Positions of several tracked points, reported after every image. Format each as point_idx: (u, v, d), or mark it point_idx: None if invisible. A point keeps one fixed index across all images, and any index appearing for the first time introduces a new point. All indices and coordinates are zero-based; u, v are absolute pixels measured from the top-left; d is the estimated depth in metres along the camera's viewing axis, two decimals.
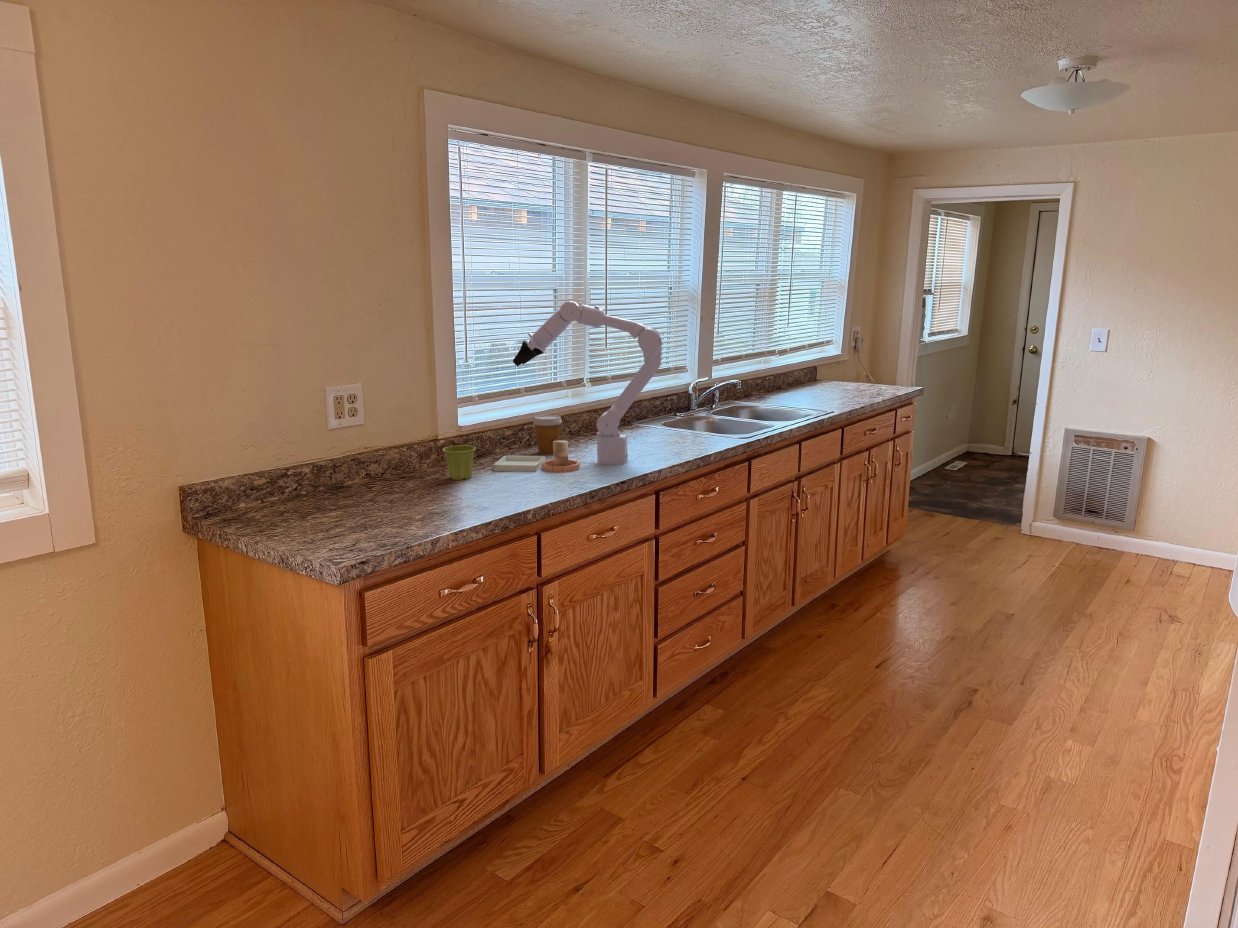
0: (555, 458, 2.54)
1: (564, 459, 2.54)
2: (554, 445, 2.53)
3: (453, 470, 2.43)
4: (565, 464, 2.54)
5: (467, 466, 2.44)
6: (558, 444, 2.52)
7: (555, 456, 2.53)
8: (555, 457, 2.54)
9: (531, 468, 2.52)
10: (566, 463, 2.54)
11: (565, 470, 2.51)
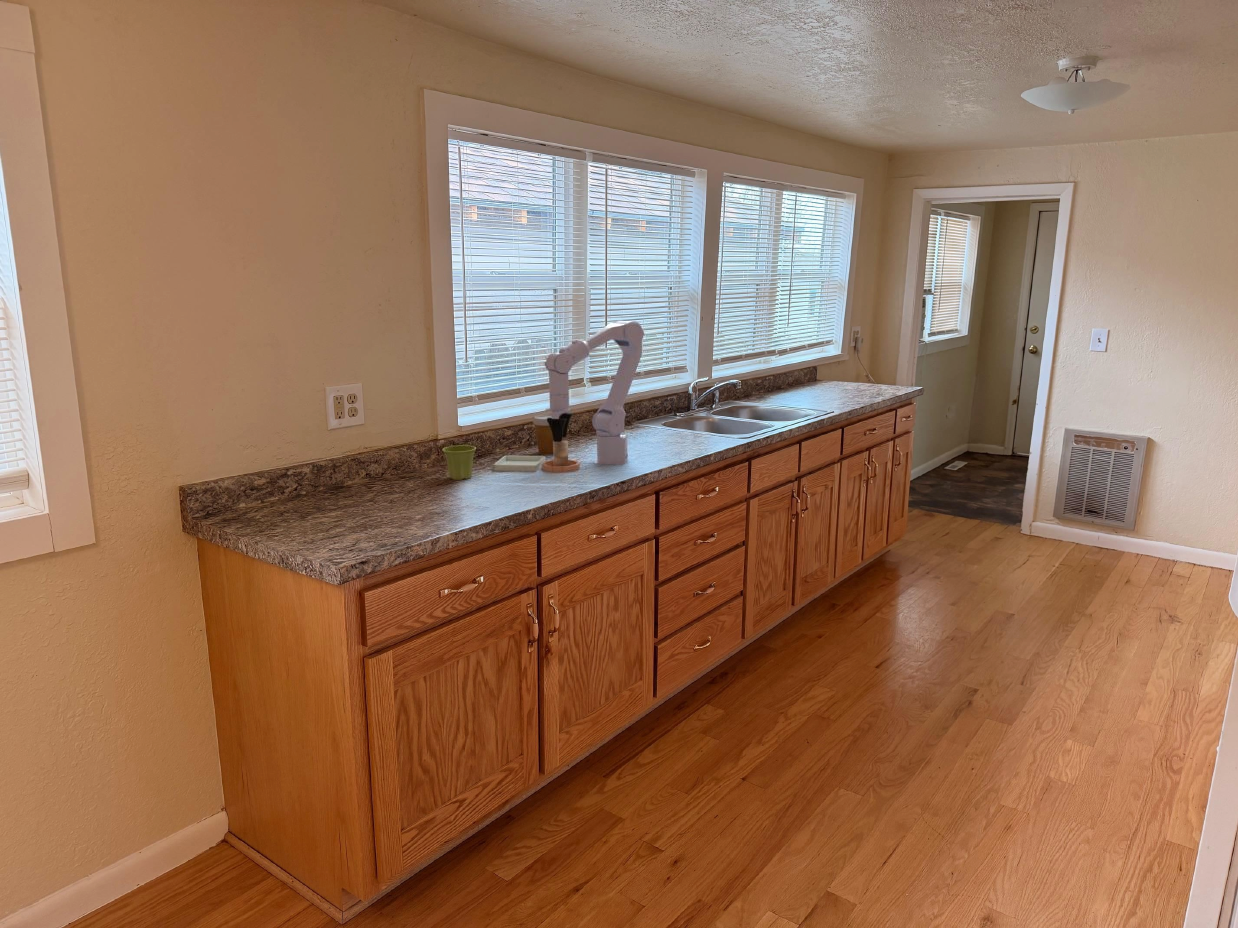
0: (555, 458, 2.54)
1: (564, 459, 2.54)
2: (554, 445, 2.53)
3: (453, 470, 2.43)
4: (565, 464, 2.54)
5: (467, 466, 2.44)
6: (558, 444, 2.52)
7: (555, 456, 2.53)
8: (555, 457, 2.54)
9: (531, 468, 2.52)
10: (566, 463, 2.54)
11: (565, 470, 2.51)
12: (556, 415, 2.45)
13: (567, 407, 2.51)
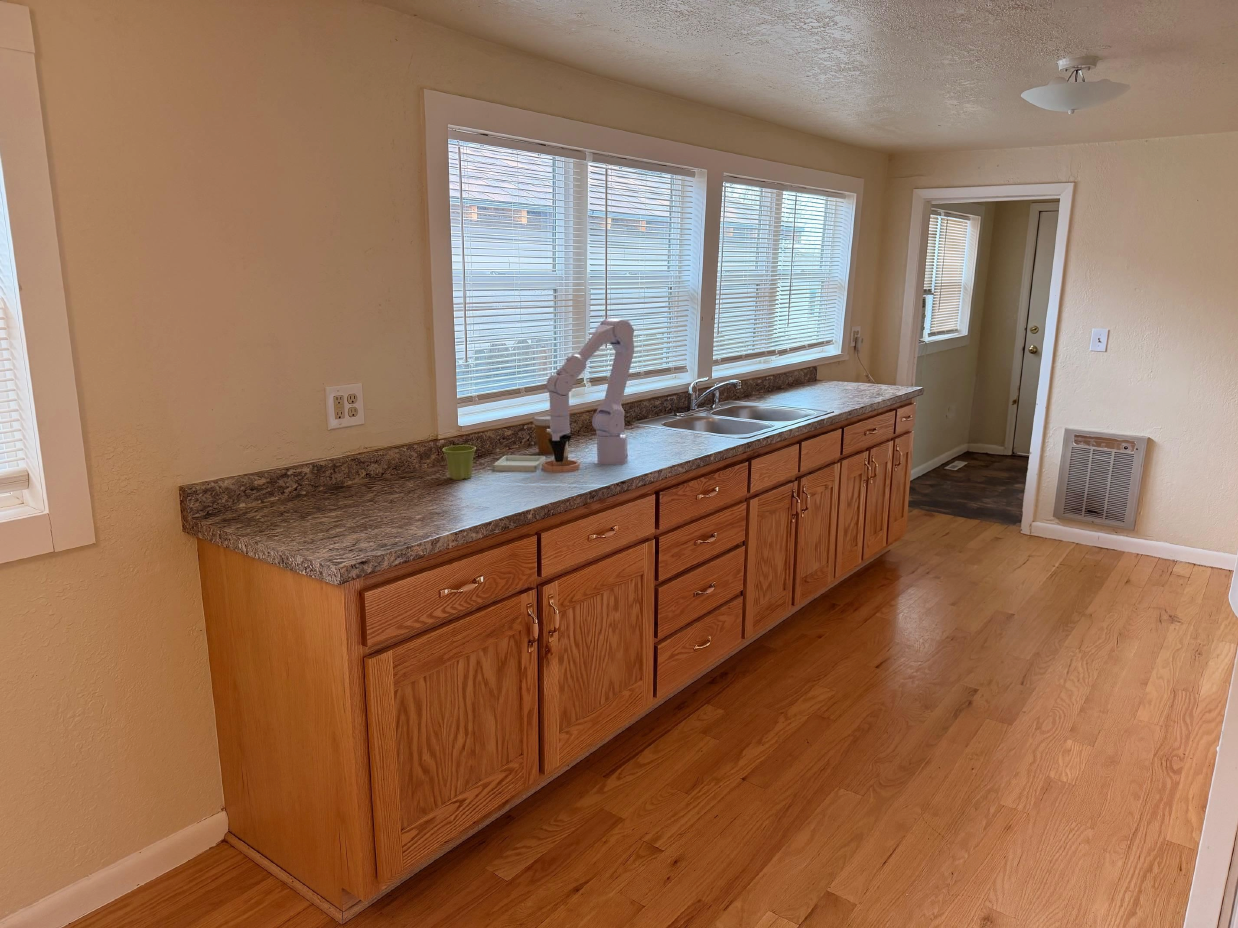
0: None
1: (564, 459, 2.54)
2: None
3: (453, 470, 2.43)
4: (565, 464, 2.54)
5: (467, 466, 2.44)
6: None
7: None
8: None
9: (531, 468, 2.52)
10: (566, 463, 2.54)
11: (565, 470, 2.51)
12: (557, 437, 2.47)
13: (568, 428, 2.52)
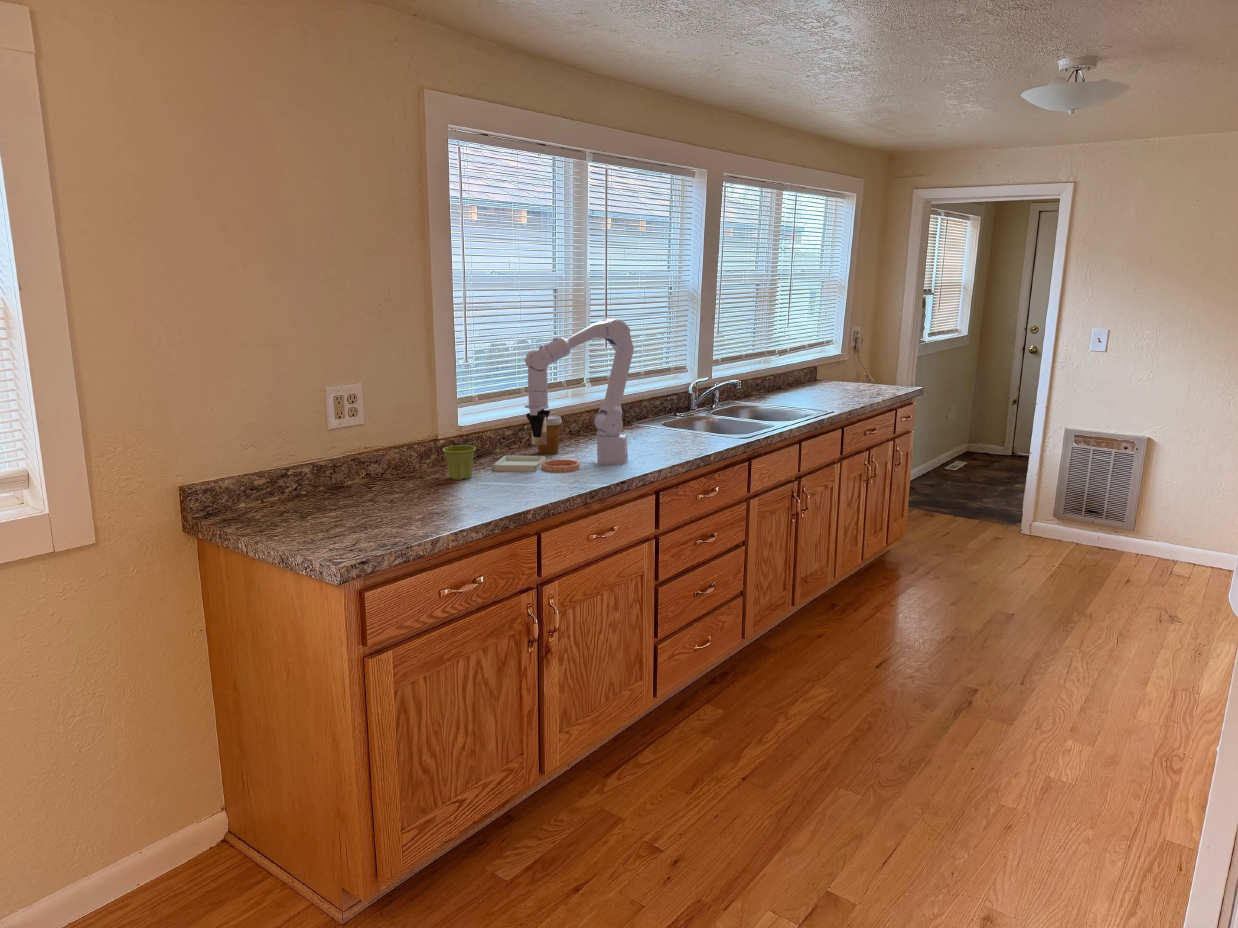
0: None
1: (542, 435, 2.54)
2: None
3: (453, 470, 2.43)
4: (543, 440, 2.54)
5: (467, 466, 2.44)
6: None
7: None
8: None
9: (531, 468, 2.52)
10: (544, 439, 2.54)
11: (565, 470, 2.51)
12: (534, 411, 2.47)
13: (546, 404, 2.52)
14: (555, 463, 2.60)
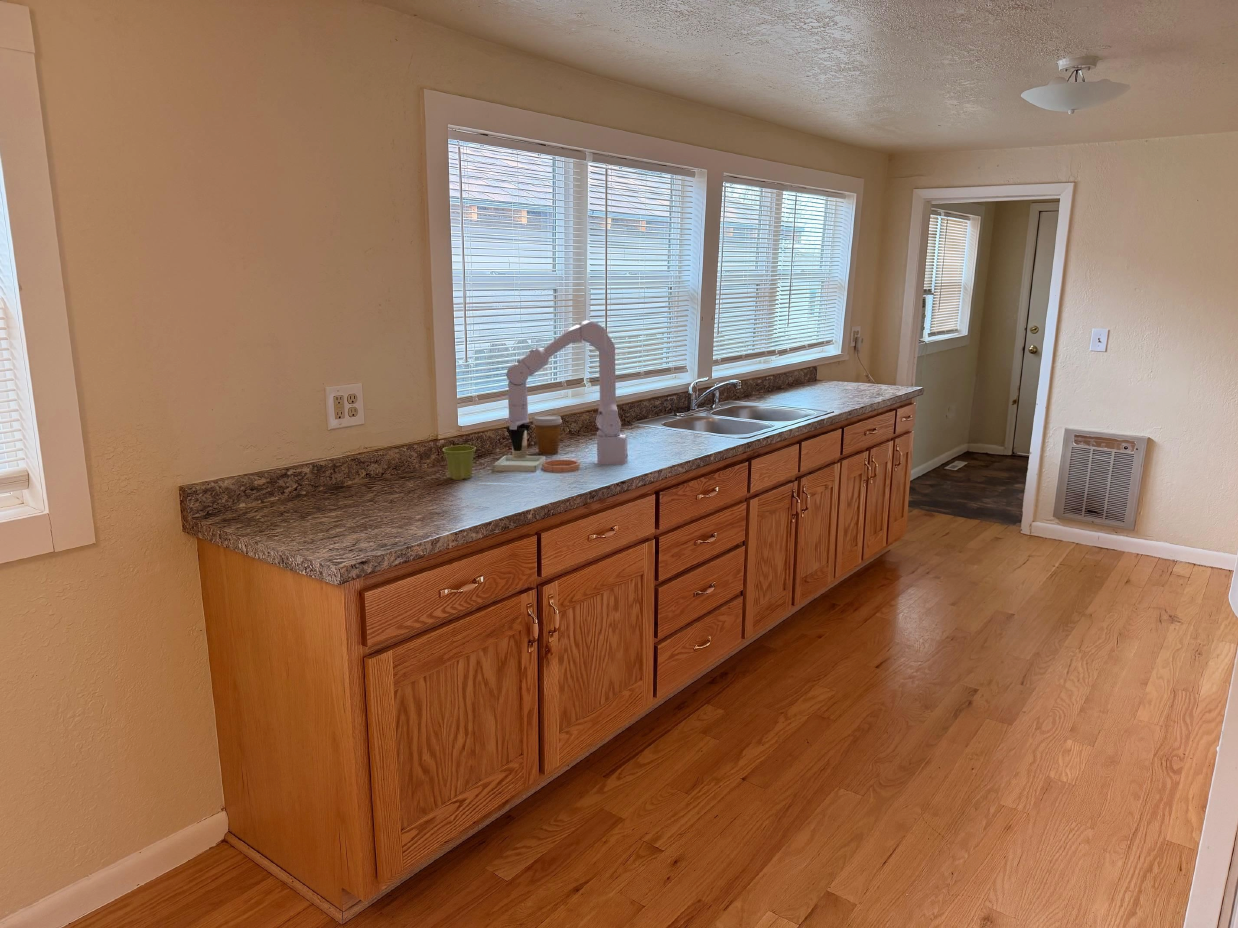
0: None
1: (523, 449, 2.56)
2: None
3: (453, 470, 2.43)
4: (523, 453, 2.57)
5: (467, 466, 2.44)
6: None
7: None
8: None
9: (531, 468, 2.52)
10: (524, 452, 2.57)
11: (565, 470, 2.51)
12: (514, 426, 2.49)
13: (526, 418, 2.55)
14: (555, 463, 2.60)
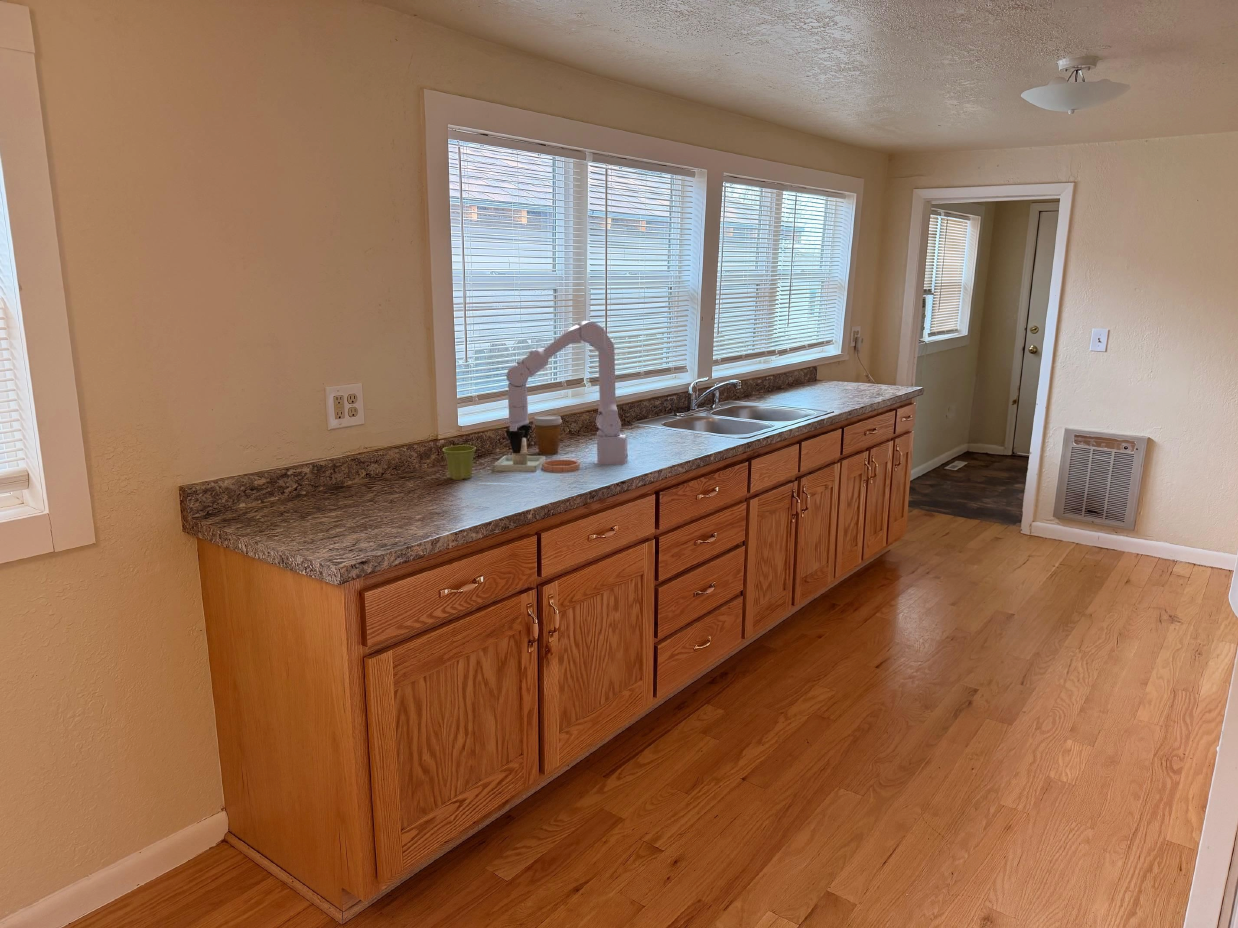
0: (514, 455, 2.57)
1: (523, 456, 2.57)
2: None
3: (453, 470, 2.43)
4: (524, 461, 2.57)
5: (467, 466, 2.44)
6: None
7: (514, 453, 2.57)
8: (514, 454, 2.57)
9: (531, 468, 2.52)
10: (525, 460, 2.58)
11: (565, 470, 2.51)
12: (514, 427, 2.50)
13: (526, 419, 2.55)
14: (555, 463, 2.60)
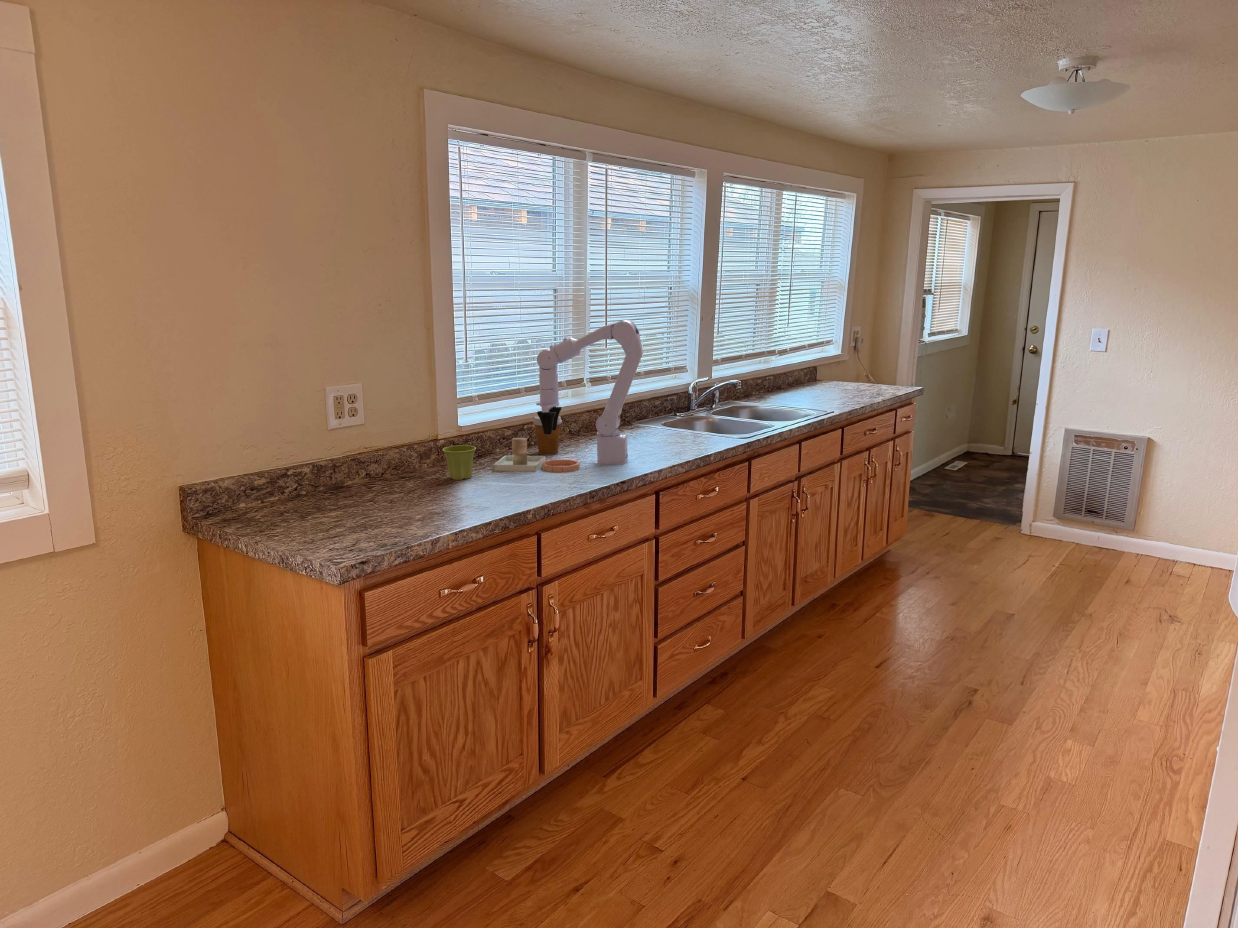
0: (514, 455, 2.57)
1: (523, 456, 2.57)
2: (513, 442, 2.56)
3: (453, 470, 2.43)
4: (524, 461, 2.57)
5: (467, 466, 2.44)
6: (517, 441, 2.56)
7: (514, 453, 2.57)
8: (514, 455, 2.57)
9: (531, 468, 2.52)
10: (525, 460, 2.58)
11: (565, 470, 2.51)
12: (546, 409, 2.57)
13: (556, 401, 2.62)
14: (555, 463, 2.60)
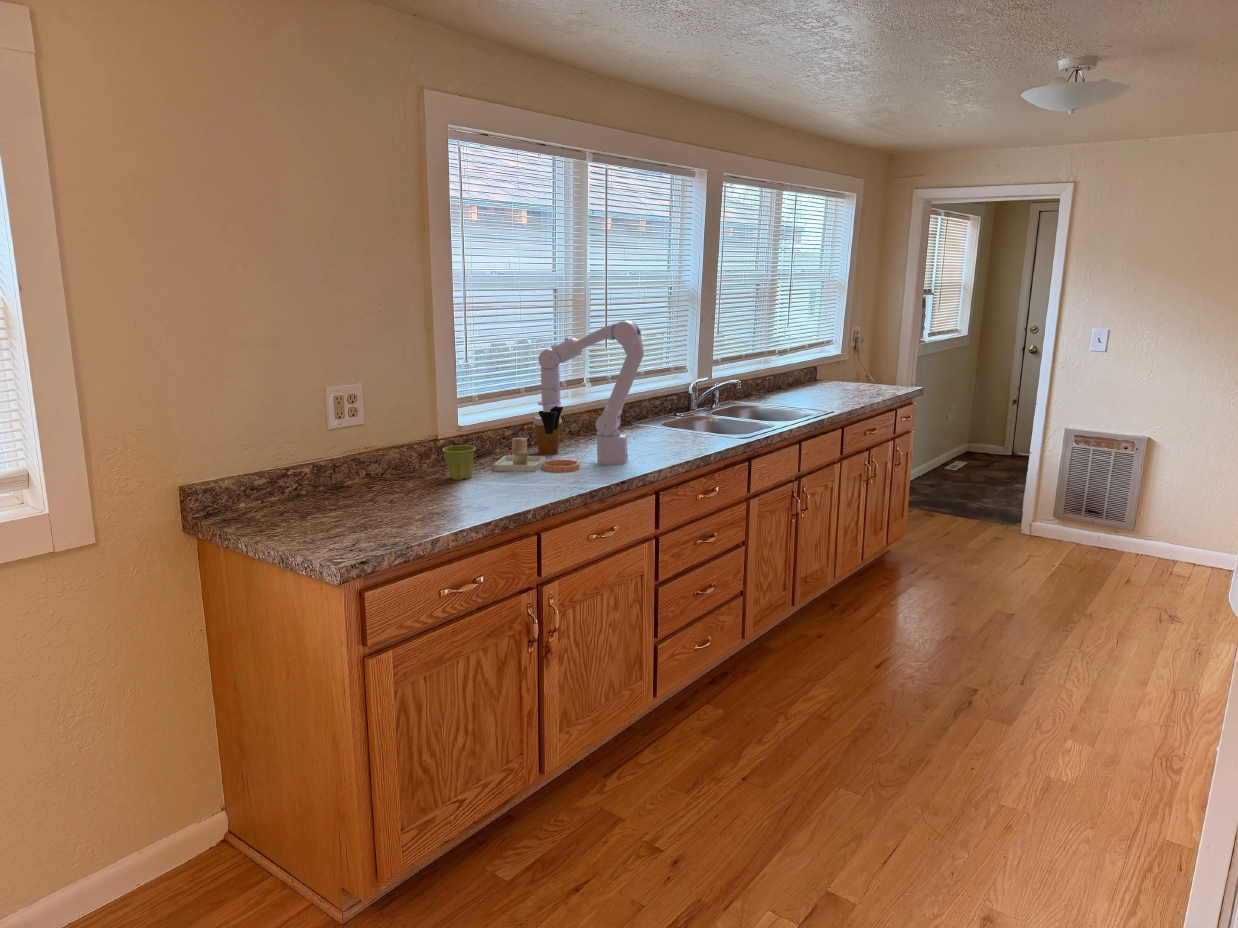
0: (514, 455, 2.57)
1: (523, 456, 2.57)
2: (513, 442, 2.57)
3: (453, 470, 2.43)
4: (524, 461, 2.57)
5: (467, 466, 2.44)
6: (517, 441, 2.56)
7: (514, 453, 2.57)
8: (514, 454, 2.57)
9: (531, 468, 2.52)
10: (525, 460, 2.58)
11: (565, 470, 2.51)
12: (547, 408, 2.57)
13: (558, 401, 2.63)
14: (555, 463, 2.60)
